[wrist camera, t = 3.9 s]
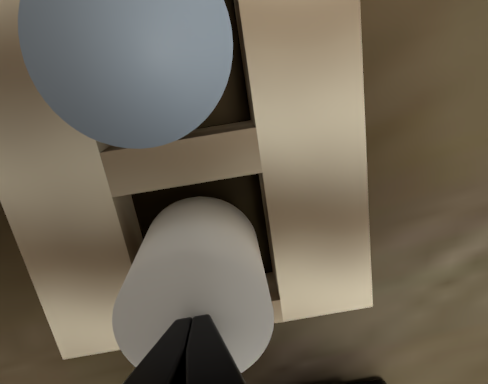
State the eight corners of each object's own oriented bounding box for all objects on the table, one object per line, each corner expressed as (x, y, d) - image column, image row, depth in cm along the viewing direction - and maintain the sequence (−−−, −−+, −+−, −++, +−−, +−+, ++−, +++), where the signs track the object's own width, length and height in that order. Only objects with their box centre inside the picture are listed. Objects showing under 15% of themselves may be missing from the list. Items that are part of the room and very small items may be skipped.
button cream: (264, 287, 13) (282, 372, 9) (159, 305, 13) (134, 397, 9) (249, 187, 12) (262, 238, 8) (132, 206, 12) (92, 267, 8)
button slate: (237, 113, 11) (246, 131, 7) (112, 133, 11) (57, 163, 7) (215, -30, 10) (212, -96, 6) (74, -8, 10) (-17, -61, 6)
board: (354, 278, 15) (372, 306, 14) (82, 324, 15) (63, 359, 13) (314, -383, 9) (339, -503, 7) (-149, -318, 9) (-247, -423, 7)
